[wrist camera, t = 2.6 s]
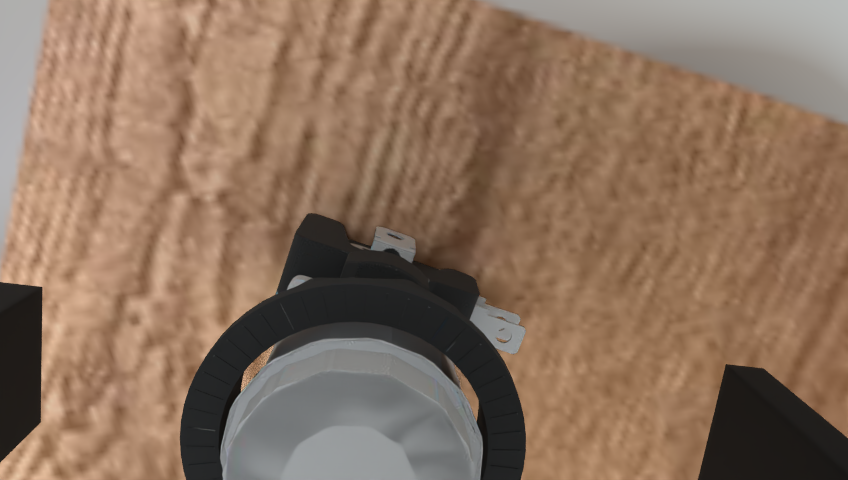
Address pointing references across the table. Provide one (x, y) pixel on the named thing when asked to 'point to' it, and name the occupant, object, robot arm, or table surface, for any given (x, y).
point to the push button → (359, 373)
